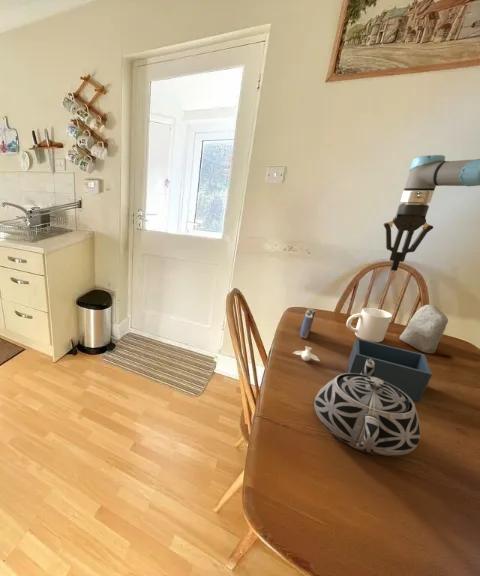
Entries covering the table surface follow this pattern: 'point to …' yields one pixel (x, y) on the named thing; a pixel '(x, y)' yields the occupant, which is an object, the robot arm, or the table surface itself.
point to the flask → (307, 323)
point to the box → (392, 366)
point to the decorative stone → (425, 329)
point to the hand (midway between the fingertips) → (393, 269)
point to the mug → (370, 324)
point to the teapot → (369, 413)
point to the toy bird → (306, 354)
